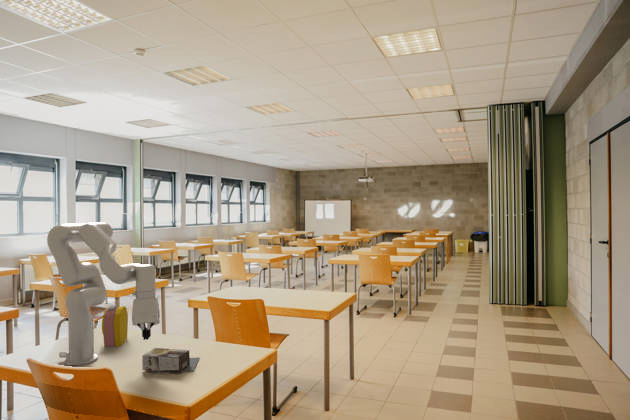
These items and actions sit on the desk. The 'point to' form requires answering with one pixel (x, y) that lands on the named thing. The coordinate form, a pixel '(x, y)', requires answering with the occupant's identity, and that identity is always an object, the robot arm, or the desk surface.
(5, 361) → the desk surface
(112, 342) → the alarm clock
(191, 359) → the mat
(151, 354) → the coffee box
